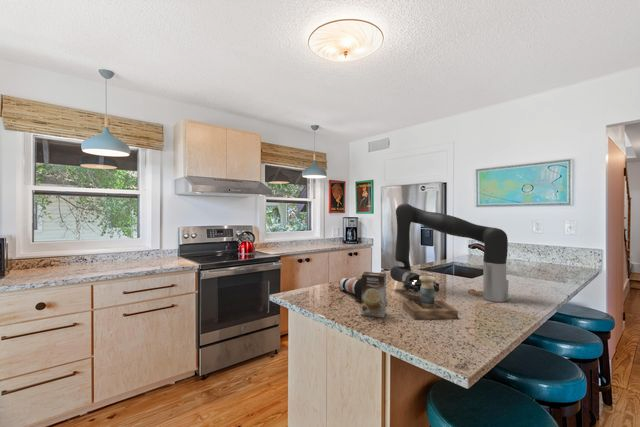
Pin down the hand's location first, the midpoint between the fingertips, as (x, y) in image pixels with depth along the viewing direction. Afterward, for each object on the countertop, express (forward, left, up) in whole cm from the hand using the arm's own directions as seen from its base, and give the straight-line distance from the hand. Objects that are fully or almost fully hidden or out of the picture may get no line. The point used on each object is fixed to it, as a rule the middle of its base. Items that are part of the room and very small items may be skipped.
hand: (427, 289), depth 122 cm
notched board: (0, +1, -9) cm, 9 cm away
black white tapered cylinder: (+25, -26, -9) cm, 37 cm away
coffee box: (+23, +1, -9) cm, 24 cm away
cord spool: (0, 0, -9) cm, 9 cm away
